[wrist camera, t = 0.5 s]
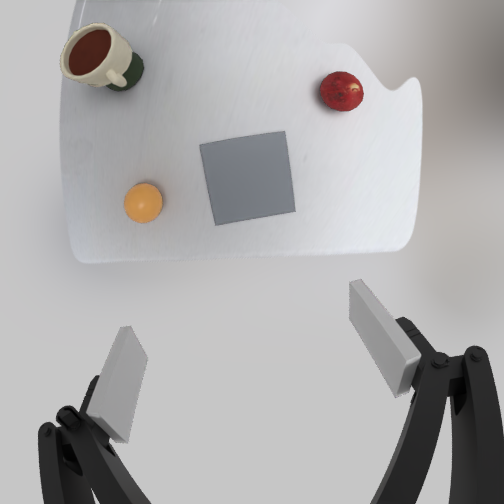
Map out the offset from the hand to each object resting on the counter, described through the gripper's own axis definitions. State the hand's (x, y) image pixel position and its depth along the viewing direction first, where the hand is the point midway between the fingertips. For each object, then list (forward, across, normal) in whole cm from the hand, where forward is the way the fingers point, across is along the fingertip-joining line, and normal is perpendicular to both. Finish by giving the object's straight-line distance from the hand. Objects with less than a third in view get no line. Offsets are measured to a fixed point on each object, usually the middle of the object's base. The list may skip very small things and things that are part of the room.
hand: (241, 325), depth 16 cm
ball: (+24, -12, +4) cm, 27 cm away
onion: (+27, +18, +14) cm, 35 cm away
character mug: (+27, -11, +24) cm, 38 cm away
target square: (+27, +3, +4) cm, 27 cm away
